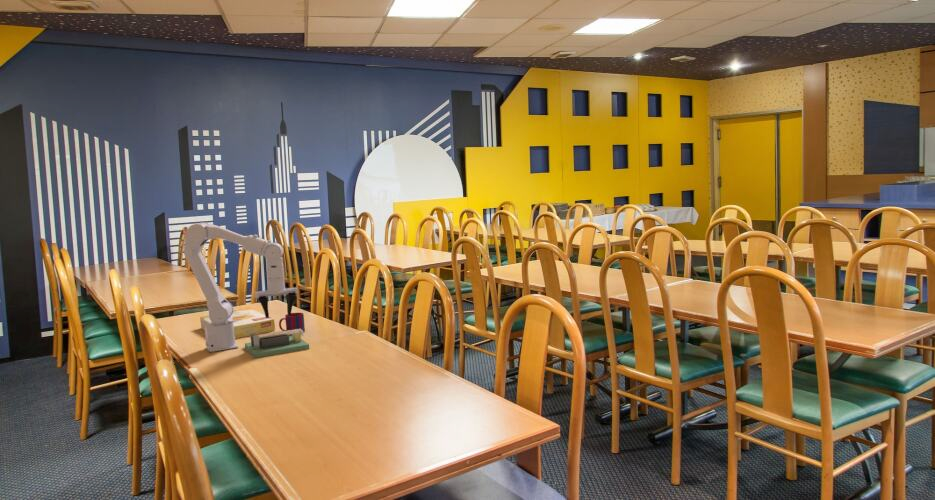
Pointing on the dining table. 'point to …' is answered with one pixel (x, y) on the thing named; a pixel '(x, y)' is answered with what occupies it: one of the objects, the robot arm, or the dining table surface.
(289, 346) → the circuit board
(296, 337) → the dark and beige blocks
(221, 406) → the dining table surface
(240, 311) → the cereal box
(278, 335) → the beige long bar
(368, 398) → the dining table surface
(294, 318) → the mug
